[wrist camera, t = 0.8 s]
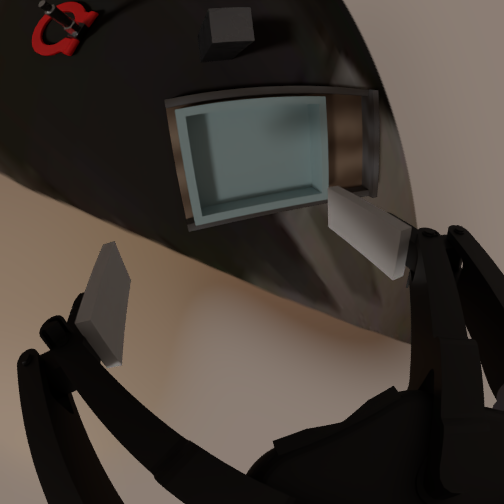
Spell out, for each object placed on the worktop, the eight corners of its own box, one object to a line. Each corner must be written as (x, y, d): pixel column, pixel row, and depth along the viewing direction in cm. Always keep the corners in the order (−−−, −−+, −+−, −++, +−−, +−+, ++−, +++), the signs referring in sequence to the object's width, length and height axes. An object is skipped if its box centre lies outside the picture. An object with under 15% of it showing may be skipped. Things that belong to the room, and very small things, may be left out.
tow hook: (25, 51, 18) (69, 63, 21) (-26, 36, 6) (21, 43, 10) (57, 1, 15) (104, 10, 19) (19, -31, 4) (74, -31, 8)
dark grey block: (197, 35, 25) (208, 8, 17) (228, 33, 26) (250, 7, 17) (200, 62, 27) (212, 43, 19) (231, 59, 28) (254, 40, 20)
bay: (165, 101, 28) (164, 99, 25) (361, 90, 34) (378, 90, 31) (187, 223, 37) (189, 234, 34) (362, 189, 43) (377, 197, 39)
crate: (174, 110, 28) (175, 109, 25) (310, 96, 32) (325, 96, 29) (192, 214, 36) (195, 225, 32) (314, 190, 39) (328, 199, 36)
